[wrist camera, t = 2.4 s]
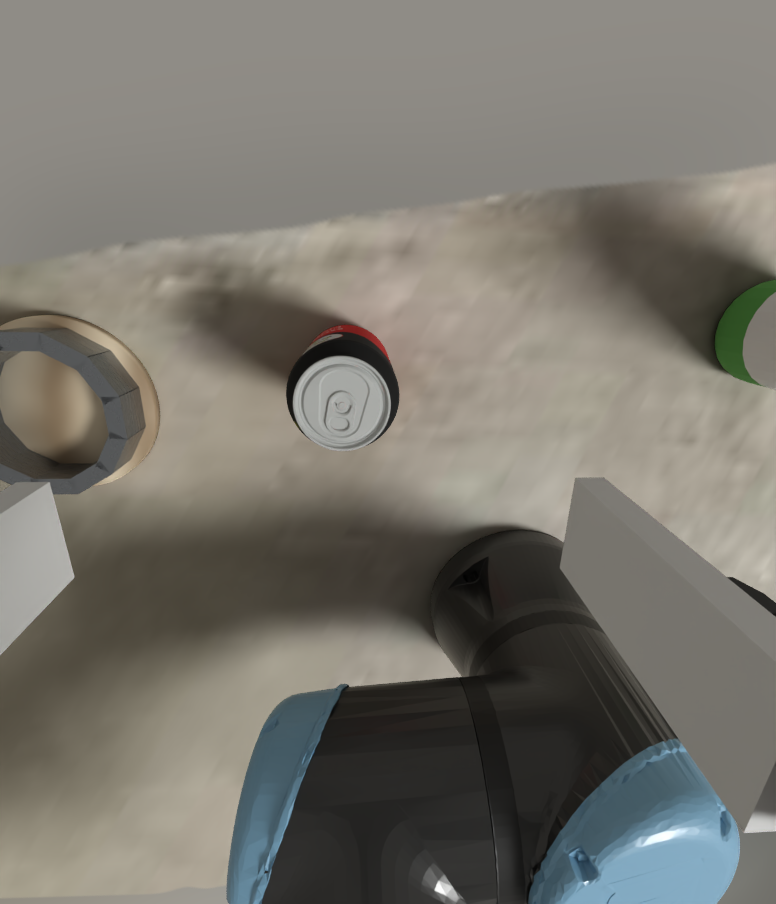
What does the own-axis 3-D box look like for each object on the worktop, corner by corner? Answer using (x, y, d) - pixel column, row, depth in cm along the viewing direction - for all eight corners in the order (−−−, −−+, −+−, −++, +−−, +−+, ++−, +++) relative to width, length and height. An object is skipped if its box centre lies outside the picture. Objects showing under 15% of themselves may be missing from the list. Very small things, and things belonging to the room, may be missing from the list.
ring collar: (129, 328, 32) (107, 333, 30) (154, 477, 36) (137, 493, 34) (-42, 326, 32) (-80, 331, 29) (3, 478, 36) (-27, 494, 33)
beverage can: (395, 331, 35) (412, 355, 23) (381, 411, 37) (390, 469, 25) (311, 316, 34) (287, 333, 23) (301, 399, 36) (275, 452, 25)
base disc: (145, 316, 33) (138, 316, 32) (171, 481, 38) (166, 486, 37) (-45, 313, 32) (-58, 314, 31) (4, 482, 37) (-5, 487, 36)
